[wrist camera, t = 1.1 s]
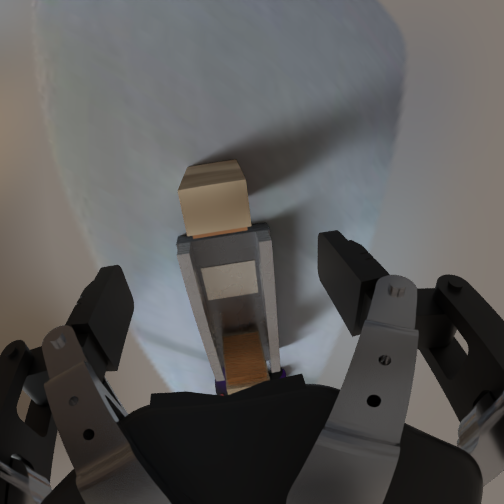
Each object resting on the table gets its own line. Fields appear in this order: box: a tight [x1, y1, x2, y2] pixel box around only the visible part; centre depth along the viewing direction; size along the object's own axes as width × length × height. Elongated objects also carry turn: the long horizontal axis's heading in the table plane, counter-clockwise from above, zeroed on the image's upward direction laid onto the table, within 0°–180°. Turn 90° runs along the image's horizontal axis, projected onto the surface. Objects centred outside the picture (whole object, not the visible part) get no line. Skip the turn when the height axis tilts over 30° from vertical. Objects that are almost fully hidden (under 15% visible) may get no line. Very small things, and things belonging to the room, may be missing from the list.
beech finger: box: [178, 159, 251, 239], centre depth 20 cm, size 4×4×7 cm
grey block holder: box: [176, 223, 280, 395], centre depth 25 cm, size 17×8×8 cm, turn 6°
